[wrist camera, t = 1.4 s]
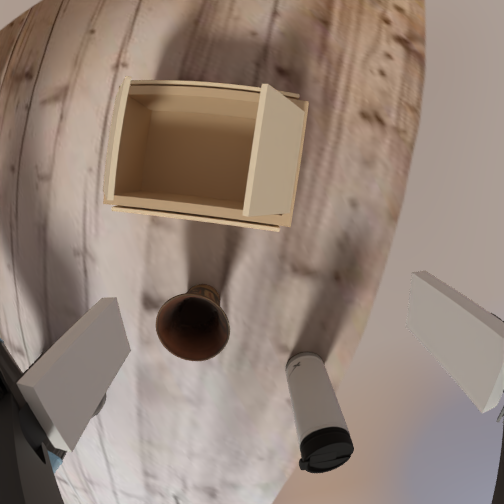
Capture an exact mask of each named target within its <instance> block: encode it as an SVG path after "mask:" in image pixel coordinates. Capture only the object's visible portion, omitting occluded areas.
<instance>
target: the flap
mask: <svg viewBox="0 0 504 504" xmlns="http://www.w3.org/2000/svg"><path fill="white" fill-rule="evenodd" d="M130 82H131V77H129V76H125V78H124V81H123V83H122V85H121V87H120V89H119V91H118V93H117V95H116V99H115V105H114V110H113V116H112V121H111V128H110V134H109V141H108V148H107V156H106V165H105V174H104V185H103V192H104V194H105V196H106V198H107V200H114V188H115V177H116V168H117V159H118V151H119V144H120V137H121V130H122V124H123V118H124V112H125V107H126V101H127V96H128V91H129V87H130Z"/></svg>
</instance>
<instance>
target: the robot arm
mask: <svg viewBox="0 0 504 504" xmlns="http://www.w3.org/2000/svg"><path fill="white" fill-rule="evenodd" d="M406 328H407V329H408V330H409V331H410V332H411V333H412V334H413V335H414V336H415V337H416V338H417V339H418V341H419V342H420V343H421V344H422V345H423V346H424V347H425V348H426V349H427V350H428V351H429V352H430V354H431V355H432V356H433V357H434V358H435V359H436V360H437V361H438V362H439V364H440V365H441V366H442V367H443V368H444V369H445V371H446V372H447V373H448V374H449V375H450V376H451V377H452V378H453V380H454V381H455V382H456V383H457V384H458V385H459V387H460V388H461V389H462V390H463V391H464V392H465V394H466V395H467V396H468V397H469V398H470V400H471V401H472V402H473V403H474V404H475V406H476V407H477V408H478V409H479V410H480V412H481V413H484V412H486V411H488V410H490V409H492V408H494V407H496V406H497V405H498V402H499V400H500V398H501V396H502V393H503V392H504V321H502V320H501V319H500V318H498V317H497V316H496V315H494V314H492V313H490V312H488V311H486V310H485V309H484V308H482V307H481V306H479V305H478V304H476V303H475V302H473V301H472V300H470V299H469V298H467V297H466V296H464V295H463V294H461V293H460V292H458V291H457V290H455V289H453V288H452V287H450V286H449V285H447V284H446V283H444V282H442V281H441V280H439V279H437V278H436V277H435V276H433V275H431V274H430V273H428V272H426V271H420V272H413V273H412V278H411V288H410V297H409V306H408V314H407V321H406ZM130 351H131V349H130V346H129V343H128V339H127V336H126V332H125V329H124V325H123V321H122V317H121V314H120V310H119V306H118V302H117V297H115V298H102V299H100V300H99V301H98V302H97V303H96V304H95V305H94V306H93V307H92V308H91V309H90V310H89V311H88V312H87V313H85V314H84V315H83V316H82V317H81V318H80V319H79V320H78V321H77V322H76V323H75V324H74V325H73V326H72V327H71V328H70V329H69V330H68V331H67V332H66V333H65V334H64V335H63V336H62V337H61V338H60V339H59V340H58V341H57V342H56V343H55V344H54V345H53V346H52V347H51V348H50V349H49V350H48V351H46V352H45V353H43V354H41V355H40V356H39V357H38V359H37V360H36V361H35V362H34V363H33V364H32V365H31V366H30V367H29V369H27V370H26V371H25V372H24V373H23V372H22V371H21V370H20V368H19V367H18V365H17V364H16V362H15V360H14V359H13V357H12V356H11V354H10V353H9V351H8V349H7V348H6V346H5V345H4V341H3V340H2V339H1V338H0V504H64V502H63V500H62V497H61V494H60V491H59V488H58V485H57V482H56V479H55V476H54V473H55V472H56V470H57V469H58V467H59V466H60V465H61V464H62V462H63V461H62V460H63V459H64V457H65V455H66V453H67V451H69V452H73V450H74V448H75V446H76V444H77V442H78V441H79V439H80V437H81V435H82V433H83V431H84V430H85V428H86V426H87V424H88V422H89V421H90V419H91V418H92V417H93V416H95V415H97V414H98V413H99V412H100V411H101V409H102V407H103V405H104V404H105V401H106V391H107V389H108V388H109V386H110V384H111V383H112V381H113V379H114V378H115V376H116V374H117V373H118V371H119V369H120V368H121V366H122V364H123V363H124V361H125V359H126V358H127V356H128V354H129V353H130ZM503 416H504V407H503V409H502V411H501V413H500V415H499V417H498V419H497V422H499V421H500V419H501V417H503ZM503 423H504V421H503ZM492 504H504V426H503V438H502V448H501V456H500V463H499V469H498V475H497V481H496V486H495V491H494V495H493V500H492Z"/></svg>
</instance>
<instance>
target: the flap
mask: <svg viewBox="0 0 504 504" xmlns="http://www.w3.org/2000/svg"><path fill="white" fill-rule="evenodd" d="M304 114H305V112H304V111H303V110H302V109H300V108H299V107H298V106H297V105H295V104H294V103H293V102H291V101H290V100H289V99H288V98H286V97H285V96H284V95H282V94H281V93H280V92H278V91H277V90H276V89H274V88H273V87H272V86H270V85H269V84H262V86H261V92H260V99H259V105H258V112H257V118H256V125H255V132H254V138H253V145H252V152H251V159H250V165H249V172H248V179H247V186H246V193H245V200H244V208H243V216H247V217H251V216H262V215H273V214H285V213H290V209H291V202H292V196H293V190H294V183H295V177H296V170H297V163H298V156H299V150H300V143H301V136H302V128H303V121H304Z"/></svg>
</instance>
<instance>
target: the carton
mask: <svg viewBox="0 0 504 504" xmlns="http://www.w3.org/2000/svg"><path fill="white" fill-rule="evenodd" d="M130 85H131V86H130V87H129V91H128V96H127V101H126V107H125V112H124V118H123V124H122V130H121V137H120V144H119V151H118V159H117V168H116V177H115V188H114V200H107V198H106V196H105V194H104V201H103V204H111V205H118V206H114V207H112V211H119V212H128V213H136V214H145V215H153V216H162V217H170V218H178V219H186V220H194V221H202V222H210V223H218V224H225V225H233V226H240V227H247V228H255V229H262V230H269V231H276V232H279V231H280V227H279V226H278V225H280V226H287V227H290V226H291V220H292V214H293V208H294V202H295V195H296V189H297V183H298V176H299V169H300V163H301V156H302V149H303V142H304V135H305V128H306V120H307V113H308V105H309V102H307V101H302V100H298V99H299V96H300V94H295V93H290V92H284V91H278V90H277V91H278V92H280V93H281V94H282V95H284V96H285V97H286V98H288V99H289V100H290V101H291V102H293V103H294V104H295V105H297V106H298V107H299V108H300V109H302V110H303V111H304V112H305V114H304V121H303V128H302V136H301V143H300V150H299V156H298V163H297V170H296V177H295V183H294V190H293V196H292V202H291V209H290V213H285V214H273V215H262V216H251V217H247V216H243V208H244V200H245V193H246V186H247V179H248V172H249V165H250V159H251V152H252V145H253V138H254V132H255V125H256V118H257V112H258V105H259V99H260V92H261V88H259V87H251V86H243V85H234V84H224V83H212V82H198V81H175V80H131V82H130ZM120 87H121V86H119V89H120Z"/></svg>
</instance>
